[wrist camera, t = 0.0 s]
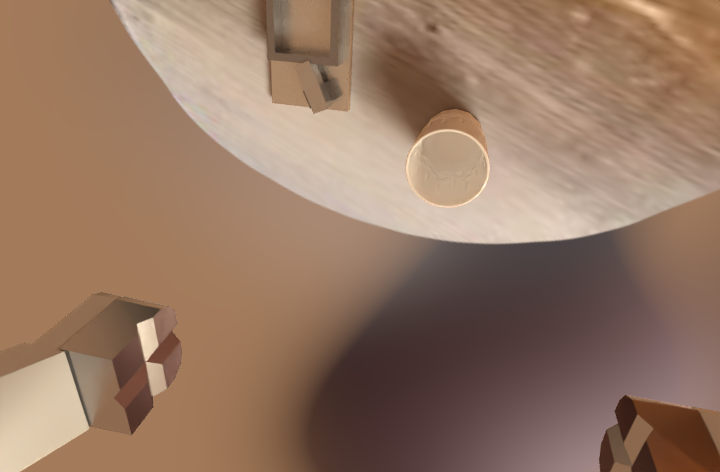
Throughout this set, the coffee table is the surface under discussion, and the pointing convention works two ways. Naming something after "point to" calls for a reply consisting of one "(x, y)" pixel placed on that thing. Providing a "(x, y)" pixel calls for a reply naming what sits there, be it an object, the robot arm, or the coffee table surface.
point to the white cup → (449, 160)
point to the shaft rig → (311, 52)
